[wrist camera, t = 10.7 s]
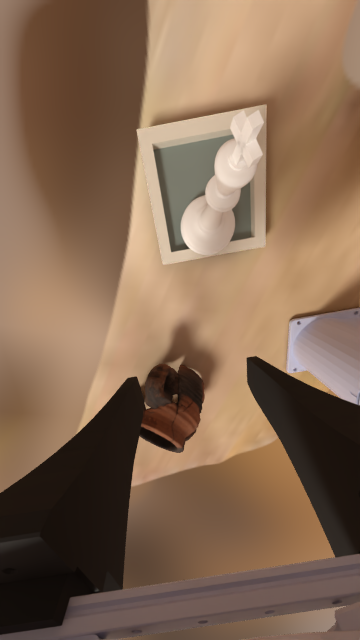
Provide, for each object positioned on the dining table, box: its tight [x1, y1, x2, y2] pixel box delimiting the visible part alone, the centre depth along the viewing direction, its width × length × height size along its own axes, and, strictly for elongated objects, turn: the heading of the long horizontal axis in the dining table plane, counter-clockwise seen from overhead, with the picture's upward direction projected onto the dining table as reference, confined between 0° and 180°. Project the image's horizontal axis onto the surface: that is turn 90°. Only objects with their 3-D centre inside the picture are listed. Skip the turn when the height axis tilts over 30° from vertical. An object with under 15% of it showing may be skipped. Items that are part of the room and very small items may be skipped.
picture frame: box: [137, 104, 267, 265], centre depth 16 cm, size 10×10×2 cm
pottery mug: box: [139, 364, 204, 453], centre depth 22 cm, size 12×10×8 cm
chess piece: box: [181, 110, 264, 255], centre depth 11 cm, size 5×5×10 cm
